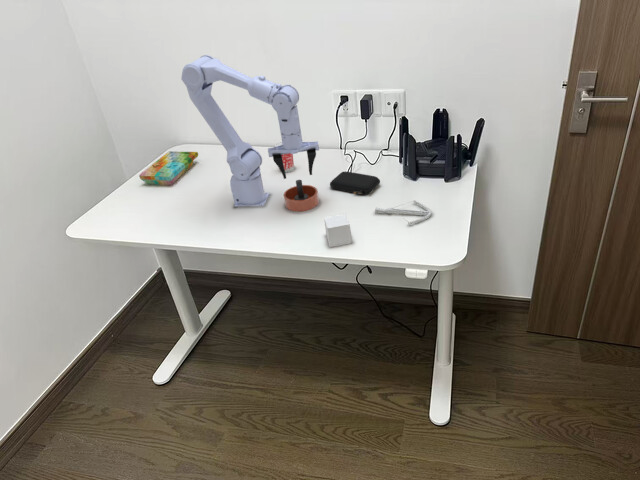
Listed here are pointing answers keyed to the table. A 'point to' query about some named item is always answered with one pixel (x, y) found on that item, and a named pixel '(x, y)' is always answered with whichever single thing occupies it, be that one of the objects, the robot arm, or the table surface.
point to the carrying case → (355, 183)
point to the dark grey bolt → (300, 191)
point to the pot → (301, 204)
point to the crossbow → (407, 212)
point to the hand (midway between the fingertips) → (297, 175)
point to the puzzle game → (168, 168)
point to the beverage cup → (287, 160)
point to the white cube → (338, 230)
